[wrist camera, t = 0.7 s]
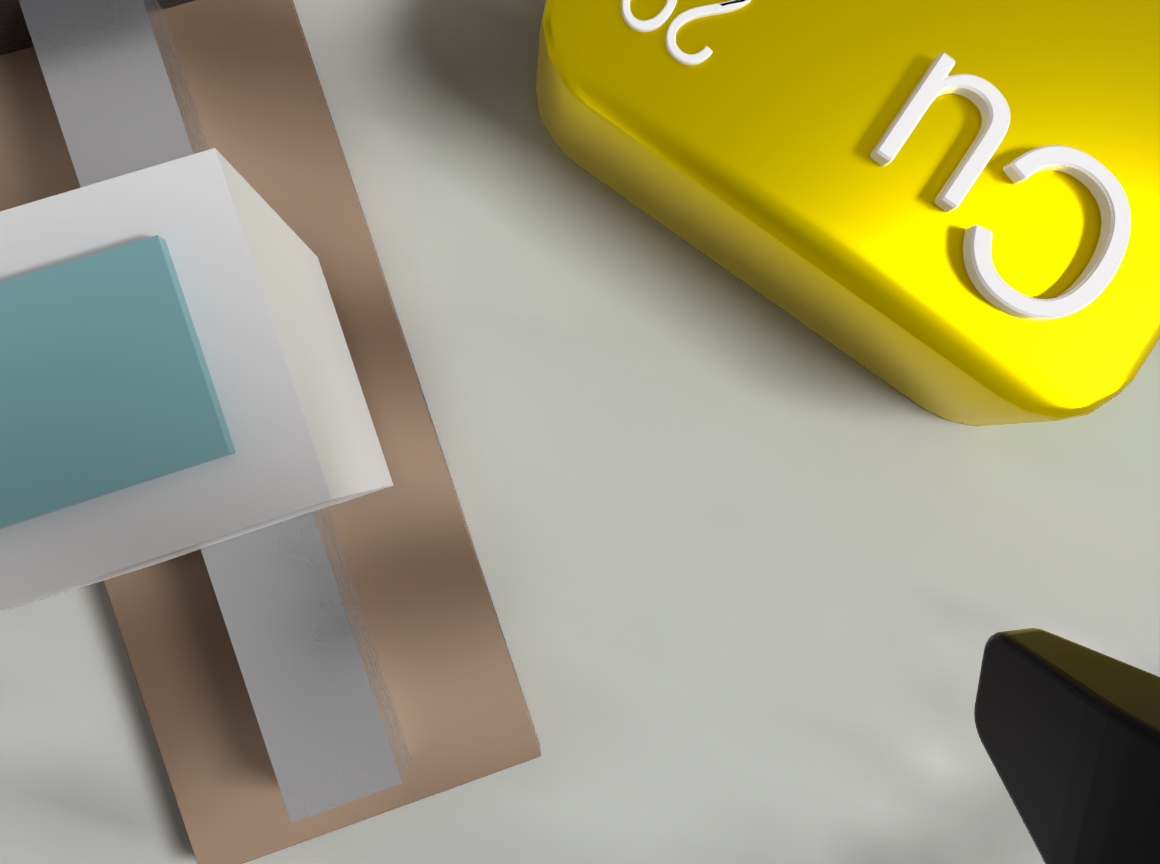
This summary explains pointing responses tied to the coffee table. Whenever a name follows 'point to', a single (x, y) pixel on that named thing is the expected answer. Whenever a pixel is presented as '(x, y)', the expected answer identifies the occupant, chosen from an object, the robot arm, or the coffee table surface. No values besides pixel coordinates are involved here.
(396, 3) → the coffee table surface
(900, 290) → the element tile
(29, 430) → the block
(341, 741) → the rail
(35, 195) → the mounting board
